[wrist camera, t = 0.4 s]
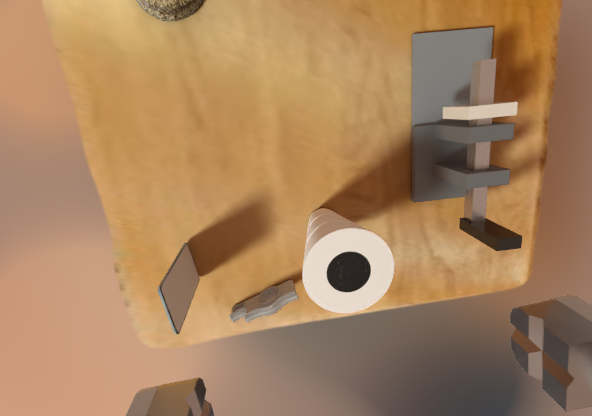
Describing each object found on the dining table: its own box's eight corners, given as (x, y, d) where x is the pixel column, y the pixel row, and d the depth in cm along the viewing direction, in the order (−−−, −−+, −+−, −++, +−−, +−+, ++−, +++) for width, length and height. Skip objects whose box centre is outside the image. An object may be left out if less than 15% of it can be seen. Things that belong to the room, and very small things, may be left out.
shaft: (467, 62, 44) (512, 52, 36) (490, 60, 44) (541, 49, 36) (459, 228, 51) (496, 251, 43) (480, 225, 51) (520, 248, 43)
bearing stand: (411, 126, 53) (446, 130, 43) (485, 118, 54) (536, 120, 44) (411, 200, 56) (443, 220, 46) (481, 192, 57) (527, 210, 47)
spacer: (442, 107, 48) (468, 106, 42) (485, 102, 49) (517, 101, 43) (442, 118, 49) (468, 120, 43) (485, 114, 49) (516, 114, 43)
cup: (284, 246, 57) (292, 305, 39) (299, 184, 54) (315, 219, 37) (344, 257, 58) (378, 319, 41) (362, 198, 56) (406, 237, 38)
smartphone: (200, 278, 57) (178, 336, 43) (197, 279, 57) (174, 337, 43) (187, 241, 55) (159, 287, 41) (184, 242, 55) (155, 288, 41)
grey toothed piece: (235, 313, 60) (231, 334, 54) (230, 305, 59) (226, 326, 53) (296, 284, 59) (300, 302, 53) (292, 275, 58) (295, 293, 53)
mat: (412, 34, 49) (413, 33, 49) (491, 27, 50) (493, 27, 50) (411, 126, 53) (412, 126, 53) (485, 118, 54) (487, 118, 53)
